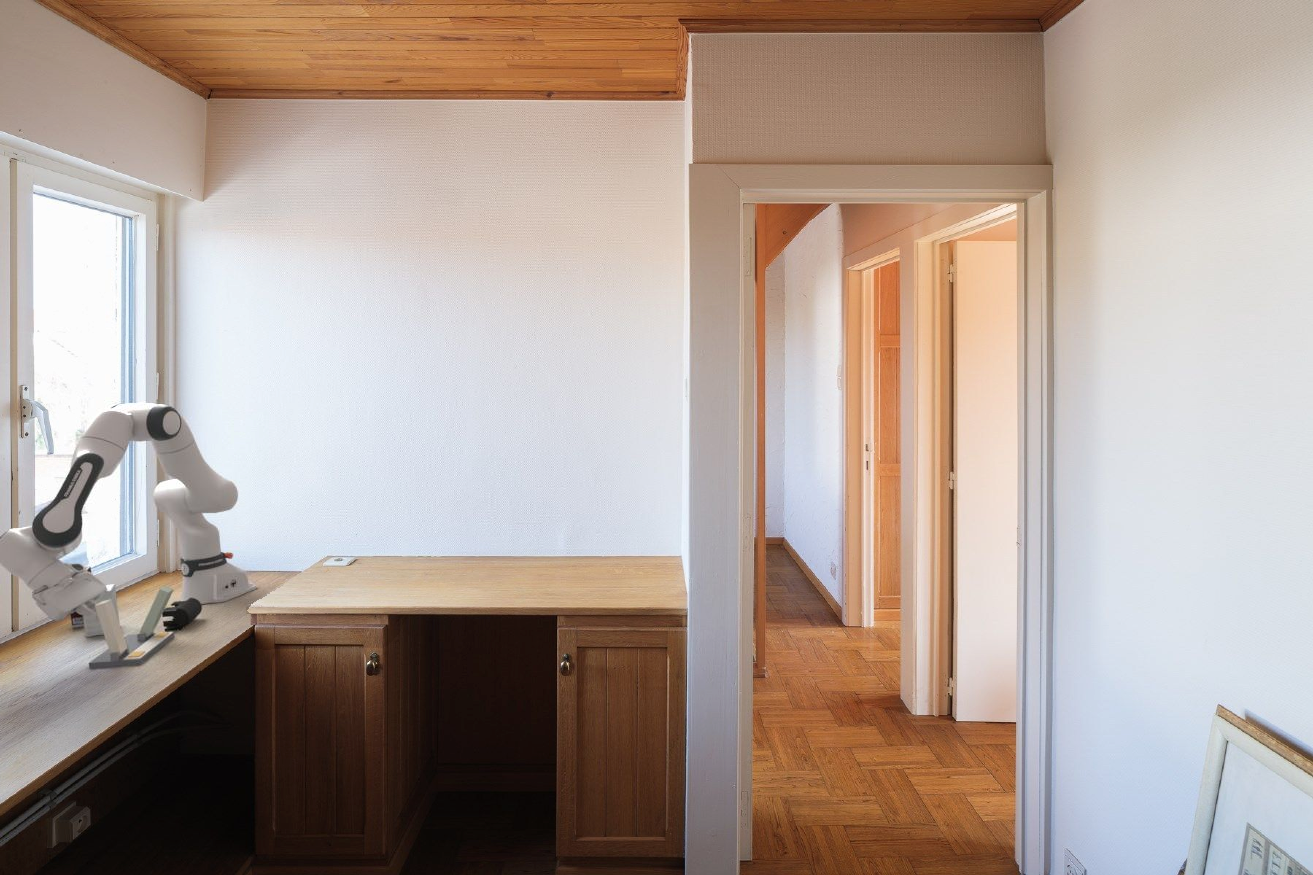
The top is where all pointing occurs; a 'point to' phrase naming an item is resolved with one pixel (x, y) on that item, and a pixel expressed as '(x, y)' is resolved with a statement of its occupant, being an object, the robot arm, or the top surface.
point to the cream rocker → (111, 627)
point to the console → (133, 650)
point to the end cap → (181, 614)
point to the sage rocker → (156, 610)
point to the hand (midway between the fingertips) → (98, 616)
